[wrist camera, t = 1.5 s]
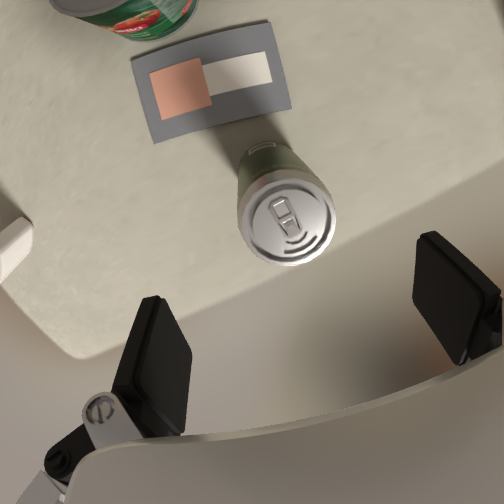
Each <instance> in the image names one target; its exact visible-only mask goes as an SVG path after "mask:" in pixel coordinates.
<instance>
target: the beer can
mask: <svg viewBox="0 0 504 504" xmlns="http://www.w3.org/2000/svg"><path fill="white" fill-rule="evenodd" d="M237 217H238V228H239V230H240V232H241V235H242V237H243V240H244V241H245V242H246V244H247V246H248V247H249V248H250V250H251V251H252V252H253V253H254V254H255V255H256V256H257V257H259V258H260V259H262V260H264V261H266V262H267V263H270V264H275V265H279V266H294V265H298V264H301V263H304V262H307V261H310V260H311V259H313V258H314V257H316V256H317V255H319V254H320V253H321V252H322V251H323V250H324V249H325V247H326V246H327V245H328V244H329V242H330V240H331V238H332V235H333V233H334V231H335V222H336V215H335V208H334V204H333V200H332V197H331V194H330V193H329V191H328V190H327V188H326V187H325V186H324V184H323V183H322V182H321V181H320V179H319V178H318V177H317V176H316V175H315V174H314V173H313V172H312V171H311V170H310V169H309V168H308V166H307V165H306V164H305V163H304V162H303V161H302V160H301V159H300V158H299V157H298V156H297V155H296V154H295V153H294V152H293V151H292V150H291V149H290V148H288V147H287V146H285V145H284V144H280V143H277V142H263V143H260V144H257V145H254V146H253V147H252V148H250V149H249V150H248V151H247V152H246V153H245V154H244V156H243V157H242V159H241V162H240V165H239V169H238V202H237Z"/></svg>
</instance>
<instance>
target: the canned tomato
mask: <svg viewBox="0 0 504 504" xmlns="http://www.w3.org/2000/svg"><path fill="white" fill-rule="evenodd" d="M49 2H50V3H51V5H52V6H53V8H54V9H56V10H57V11H59V12H60V13H62V14H65V15H68V16H73V17H75V18H78V19H81V20H84V21H86V22H89V23H92V24H94V25H97V26H99V27H102V28H104V29H107V30H109V31H112V32H114V33H116V34H119V35H121V36H123V37H125V38H127V39H129V40H131V41H136V42H153V41H158V40H161V39H164V38H167V37H169V36H171V35H173V34H174V33H176V32H177V31H179V30H180V29H182V28H183V27H184V26H185V25H186V24H187V23H188V22H189V20H190V19H191V18H192V16H193V15H194V13H195V11H196V8H197V5H198V0H49Z"/></svg>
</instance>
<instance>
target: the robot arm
mask: <svg viewBox="0 0 504 504" xmlns="http://www.w3.org/2000/svg"><path fill="white" fill-rule="evenodd" d="M500 294H501V290H500V289H499V288H498V287H497V286H496V285H495V284H494V283H493V282H492V281H491V280H490V279H489V278H488V277H487V276H486V275H485V274H484V273H483V272H482V271H481V270H480V269H479V268H478V267H476V266H475V265H474V264H473V263H472V262H471V261H470V260H469V259H468V258H467V257H465V256H464V255H463V254H462V253H461V252H460V251H459V250H457V248H455V247H454V246H453V245H452V244H451V243H449V242H448V241H447V240H446V239H445V238H443V236H441V235H440V234H439V233H437V232H436V231H430V232H427V233H423V234H421V235H420V238H419V239H418V240H417V245H416V263H415V274H414V285H413V294H412V299H413V303H414V305H415V306H416V308H417V309H418V310H419V312H420V313H421V315H422V316H423V317H424V319H425V320H426V322H427V323H428V325H429V326H430V328H431V329H432V331H433V332H434V334H435V335H436V337H437V338H438V340H439V341H440V343H441V344H442V346H443V347H444V349H445V350H446V352H447V354H448V355H449V357H450V358H451V360H452V361H453V363H454V364H455V365H459V367H457V368H455V369H453V370H451V371H448V372H447V373H444V374H442V375H439V376H437V377H435V378H432V379H430V380H428V381H425V382H423V383H420V384H418V385H415V386H412V387H410V388H407V389H405V390H402V391H399V392H396V393H393V394H390V395H388V396H385V397H382V398H379V399H376V400H373V401H369V402H366V403H363V404H360V405H357V406H353V407H350V408H346V409H342V410H339V411H335V412H331V413H327V414H323V415H319V416H315V417H310V418H306V419H301V420H296V421H292V422H287V423H282V424H276V425H270V426H264V427H258V428H252V429H245V430H237V431H229V432H220V433H210V434H201V435H187V436H180V434H181V433H183V432H184V431H185V423H186V412H187V402H188V392H189V382H190V373H191V364H192V352H191V349H190V347H189V345H188V343H187V341H186V339H185V337H184V335H183V334H182V331H181V330H180V328H179V326H178V324H177V322H176V320H175V318H174V316H173V314H172V312H171V310H170V308H169V306H168V303H167V301H166V300H165V299H164V298H162V299H161V298H160V297H159V296H158V295H156V296H152V297H147V298H143V299H142V302H141V304H140V307H139V309H138V312H137V315H136V318H135V320H134V323H133V326H132V329H131V331H130V334H129V337H128V340H127V343H126V346H125V349H124V352H123V354H122V357H121V360H120V363H119V367H118V370H117V373H116V376H115V379H114V383H113V387H112V390H111V393H110V392H102V393H98V394H96V395H94V396H93V397H91V398H90V399H89V400H88V401H87V403H86V404H85V406H84V408H83V410H82V419H83V422H84V423H83V424H82V425H81V426H79V427H78V428H76V429H75V430H74V431H73V432H71V433H70V434H69V435H67V436H66V437H65V438H63V439H62V440H61V441H59V442H58V443H57V444H55V445H54V446H53V447H52V448H51V449H50V450H49V451H48V452H47V454H46V456H45V460H44V466H45V471H44V472H43V471H42V470H40V472H39V473H38V474H37V475H36V477H35V478H34V479H33V481H32V482H31V483H30V485H29V486H28V487H27V489H26V490H25V491H24V492H23V494H22V495H21V496H20V498H19V499H18V501H17V503H16V504H504V298H501V296H500Z"/></svg>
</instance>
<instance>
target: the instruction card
mask: <svg viewBox="0 0 504 504" xmlns="http://www.w3.org/2000/svg"><path fill="white" fill-rule="evenodd" d="M131 64H132V68H133V72H134V75H135V79H136V83H137V87H138V90H139V94H140V97H141V101H142V105H143V108H144V112H145V115H146V118H147V122H148V125H149V129H150V132H151V135H152V139H153V142H154V144H156V143H159V142H162V141H165V140H168V139H171V138H175V137H178V136H181V135H184V134H188V133H191V132H195V131H198V130H202V129H205V128H209V127H213V126H216V125H220V124H224V123H228V122H232V121H236V120H240V119H245V118H249V117H254V116H258V115H263V114H268V113H273V112H278V111H283V110H289V109H292V106H291V102H290V97H289V93H288V88H287V84H286V80H285V76H284V72H283V68H282V63H281V60H280V56H279V52H278V48H277V44H276V40H275V37H274V33H273V29H272V26H271V22H270V23H263V24H257V25H252V26H247V27H242V28H237V29H232V30H228V31H223V32H219V33H215V34H211V35H207V36H204V37H200V38H196V39H193V40H189V41H186V42H183V43H180V44H177V45H173V46H170V47H167V48H165V49H162V50H159V51H156V52H153V53H151V54H148V55H145V56H143V57H140V58H138V59H135V60H133V61H131Z"/></svg>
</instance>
